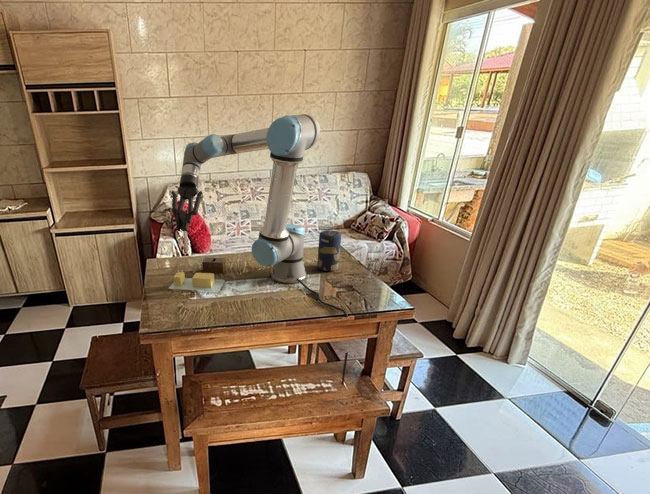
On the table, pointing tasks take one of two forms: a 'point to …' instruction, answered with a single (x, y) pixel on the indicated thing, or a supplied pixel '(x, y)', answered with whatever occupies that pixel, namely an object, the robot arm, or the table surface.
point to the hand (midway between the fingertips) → (181, 229)
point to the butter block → (203, 280)
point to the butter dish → (189, 286)
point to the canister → (329, 250)
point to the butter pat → (179, 279)
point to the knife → (182, 221)
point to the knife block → (214, 265)
